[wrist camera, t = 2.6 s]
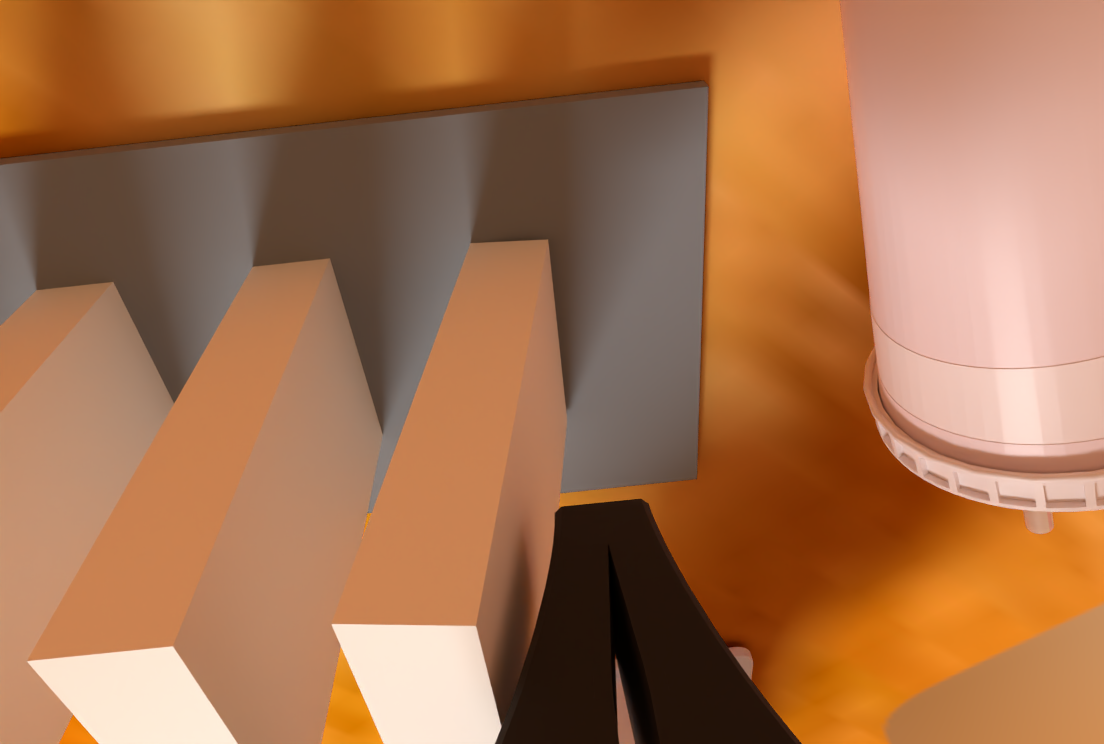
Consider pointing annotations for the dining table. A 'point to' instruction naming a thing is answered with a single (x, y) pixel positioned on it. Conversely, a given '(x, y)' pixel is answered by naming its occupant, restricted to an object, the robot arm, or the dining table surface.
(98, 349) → the domino
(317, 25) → the dining table surface
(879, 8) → the smoothie
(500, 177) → the runner mat
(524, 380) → the domino
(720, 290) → the dining table surface
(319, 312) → the domino
